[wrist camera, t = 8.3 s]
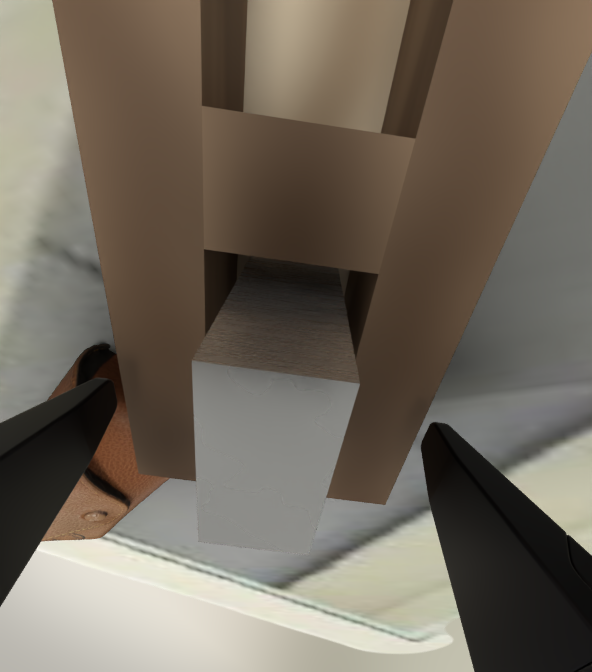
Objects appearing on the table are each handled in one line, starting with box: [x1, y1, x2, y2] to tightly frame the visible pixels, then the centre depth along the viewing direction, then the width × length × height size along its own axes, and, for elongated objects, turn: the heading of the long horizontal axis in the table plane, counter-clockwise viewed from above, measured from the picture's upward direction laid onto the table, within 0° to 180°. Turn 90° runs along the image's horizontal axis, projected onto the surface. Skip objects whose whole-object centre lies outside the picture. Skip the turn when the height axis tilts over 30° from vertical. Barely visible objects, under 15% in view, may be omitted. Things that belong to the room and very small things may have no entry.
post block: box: [52, 0, 592, 505], centre depth 10 cm, size 10×22×5 cm, turn 172°
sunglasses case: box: [42, 344, 169, 541], centre depth 20 cm, size 18×7×7 cm, turn 139°
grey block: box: [192, 256, 360, 555], centre depth 11 cm, size 3×6×8 cm, turn 172°
